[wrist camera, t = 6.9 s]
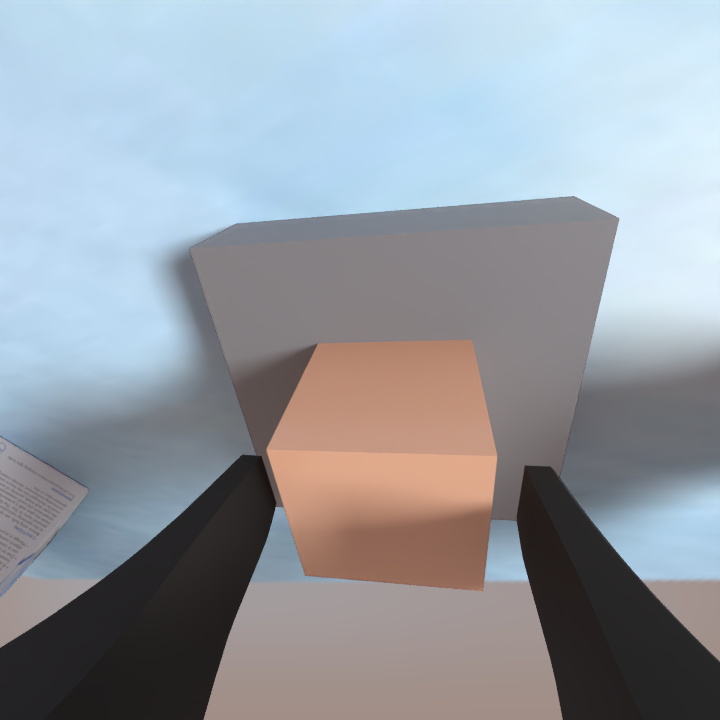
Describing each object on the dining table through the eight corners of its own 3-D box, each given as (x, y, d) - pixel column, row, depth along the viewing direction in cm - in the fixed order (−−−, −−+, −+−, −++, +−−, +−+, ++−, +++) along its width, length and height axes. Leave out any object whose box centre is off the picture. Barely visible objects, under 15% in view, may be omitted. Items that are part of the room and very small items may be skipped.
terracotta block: (471, 339, 12) (497, 455, 8) (466, 455, 15) (483, 591, 10) (318, 343, 13) (266, 449, 9) (337, 452, 15) (305, 575, 11)
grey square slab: (569, 193, 13) (619, 218, 10) (527, 452, 19) (549, 522, 16) (241, 220, 15) (189, 248, 12) (297, 446, 21) (273, 506, 18)
